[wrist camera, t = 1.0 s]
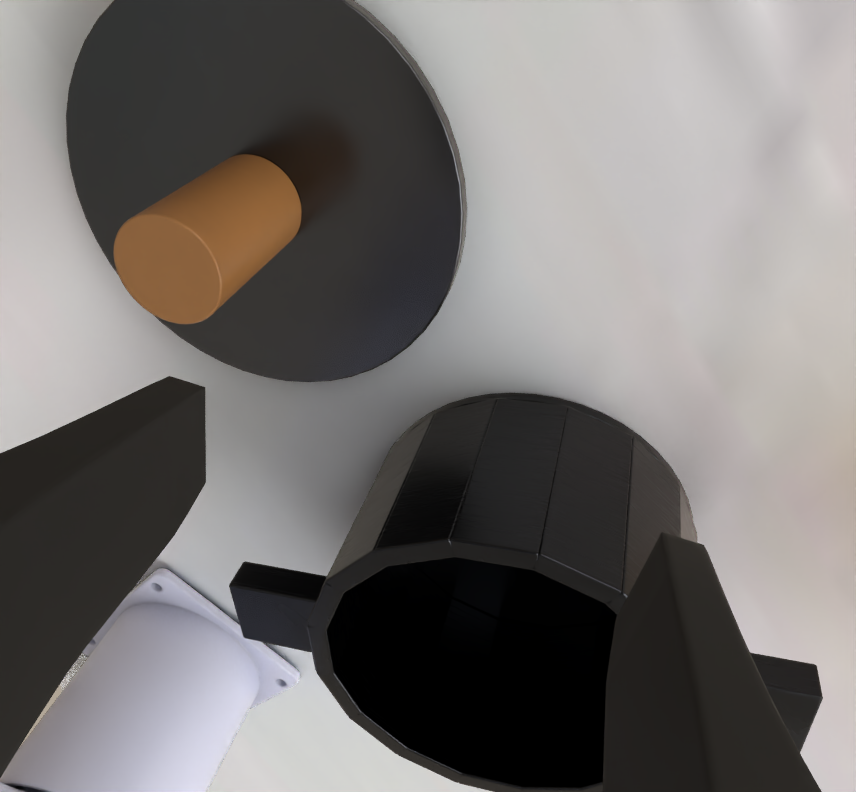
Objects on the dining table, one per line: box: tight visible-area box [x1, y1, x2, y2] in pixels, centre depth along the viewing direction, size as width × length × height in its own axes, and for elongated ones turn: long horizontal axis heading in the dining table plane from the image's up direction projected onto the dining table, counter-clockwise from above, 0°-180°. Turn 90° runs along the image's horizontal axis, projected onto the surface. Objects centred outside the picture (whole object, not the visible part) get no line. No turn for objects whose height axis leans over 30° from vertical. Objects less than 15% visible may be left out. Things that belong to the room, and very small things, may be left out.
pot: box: [229, 393, 823, 792], centre depth 22 cm, size 10×16×6 cm, turn 92°
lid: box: [66, 0, 467, 382], centre depth 18 cm, size 11×11×6 cm
